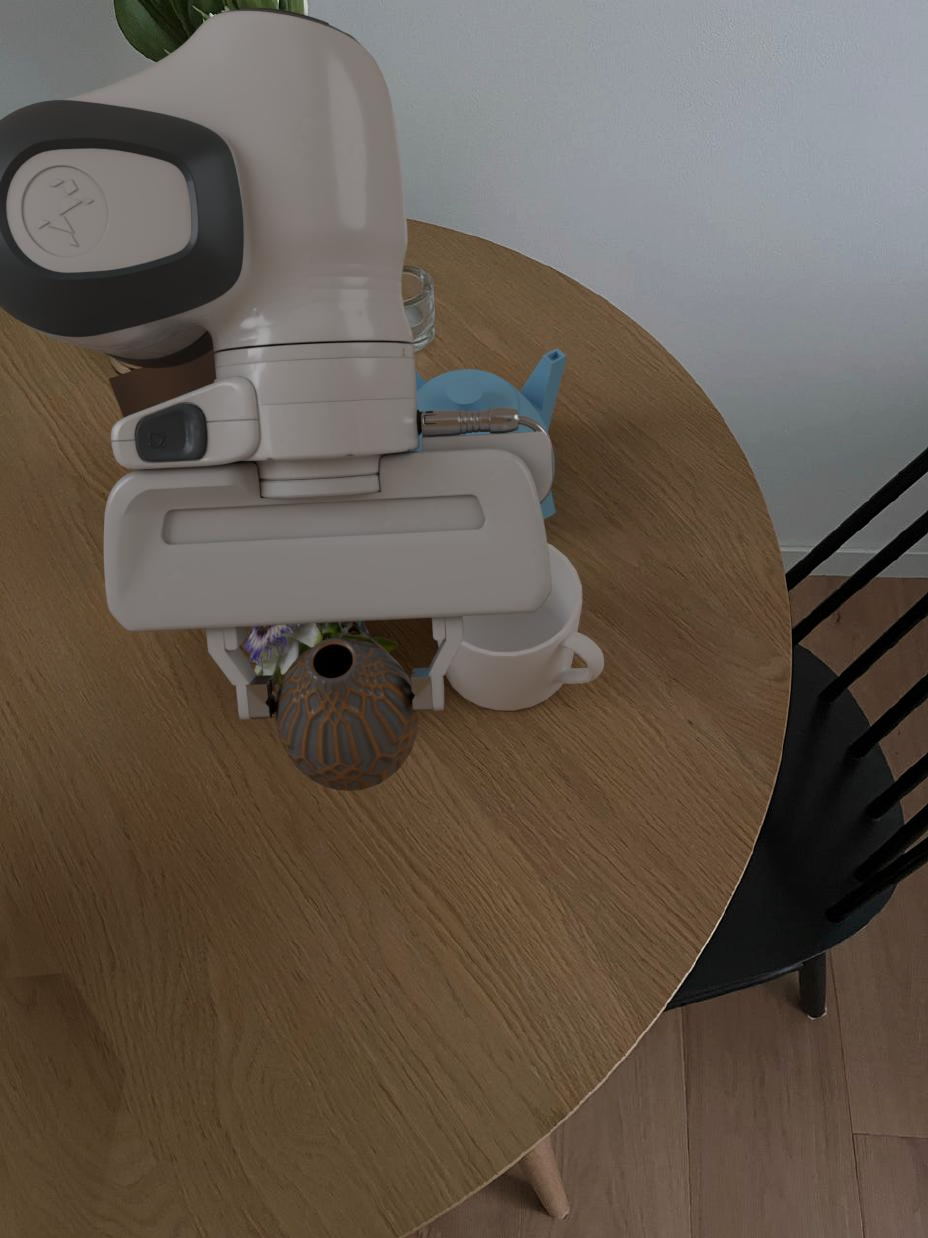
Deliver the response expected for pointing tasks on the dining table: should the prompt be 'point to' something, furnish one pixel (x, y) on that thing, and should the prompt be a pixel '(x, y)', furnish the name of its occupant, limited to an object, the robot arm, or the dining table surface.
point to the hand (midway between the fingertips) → (342, 712)
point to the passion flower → (300, 643)
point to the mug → (526, 648)
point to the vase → (346, 714)
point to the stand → (161, 383)
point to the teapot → (497, 397)
